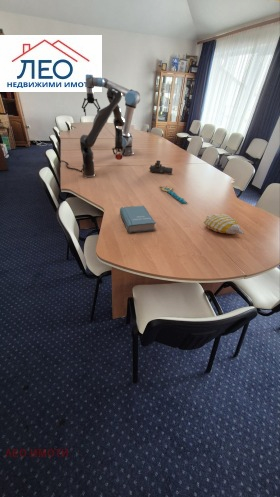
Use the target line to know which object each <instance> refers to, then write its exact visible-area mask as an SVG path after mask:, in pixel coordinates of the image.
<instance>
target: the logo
mask: <svg viewBox="0 0 280 497" xmlns="http://www.w3.org/2000/svg"><path fill="white" fill-rule="evenodd" d="M159 188H160V189H161V191H162V192H163V193H164V192H165V193H168V194H169V195H171V197H173V198H174V199H176V200H177V201H178V202H179V203H181V204H187V203H188V202H187V201H185V199H184V198H181V197H180V196H179V195H178V194H177V193H176V192H173V191H174V190H173V187H169V186H168V185H166V186H163V185H160V186H159Z"/></svg>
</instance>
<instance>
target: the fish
mask: <svg viewBox="0 0 280 497" xmlns="http://www.w3.org/2000/svg"><path fill="white" fill-rule="evenodd" d="M203 223H204V225H205V226H206V227H207V228H208V229H210V230H212V231H214V232H217V233H222V234H227V235H237V234H239V235H244V234H245V233H244V232H243V231H242V229H241V227H240V225H239V224H238V222H237V219H236V218H235V217H232V216H230V215H229V214H228V213H216V214H210V215H207V216H206V218H205V219H204V220H203Z"/></svg>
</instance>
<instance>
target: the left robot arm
mask: <svg viewBox="0 0 280 497" xmlns="http://www.w3.org/2000/svg"><path fill="white" fill-rule="evenodd" d="M122 97H123V96H122V93H121V92H120V91H119V90H117V89H116V88H114V87H109V88H108V89H107V90H106V98H107V101H108V102H109V104H108V105H107V106H105V107H103V108H101V109H99V111H98V113H97V112H96V114H95V116H94V118H93V121H92V127H91V129H90V131H89V132H88V134H81V136H80V138H79V144H80V152H81V155H82V168H81V169H78V168H75V167H69V166H68V165H69V162H67V161H65V160H62V159H61V160H59V163H61V162H63V163H65V166H66V169H69V170H76V171H78V172H80V173H81V172H82V174H83V176H84V177H85V178H94V177H95V175H96V174H95V173H96V172H95V159H94V152H93V150H92V148H93V147H94V145H95V143H96V141H97V139H98V137H99V135H100V133H101V132H102V130H103V128H104V126H106V123H107V122H108V120H109V118H110V116H111V115H112V113H113V117H114V118H113V126H114V134H115V136H114V147H112V148H111V150H112V153H113V155H114V156H115V160H117V154H118V153H119V154H121V160H122V159H123V156H125V155H124V153H125V149H124V148H123V131H122V128H120V127H122V126H124V124H125V121H124V115H122V110H121V108H120V106H119V103H120V102H121V100H122ZM122 150H123V153H122Z"/></svg>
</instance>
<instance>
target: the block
mask: <svg viewBox="0 0 280 497" xmlns="http://www.w3.org/2000/svg"><path fill="white" fill-rule="evenodd" d="M116 160H117V161H121V160H122V159H121V153H117V159H116Z"/></svg>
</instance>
